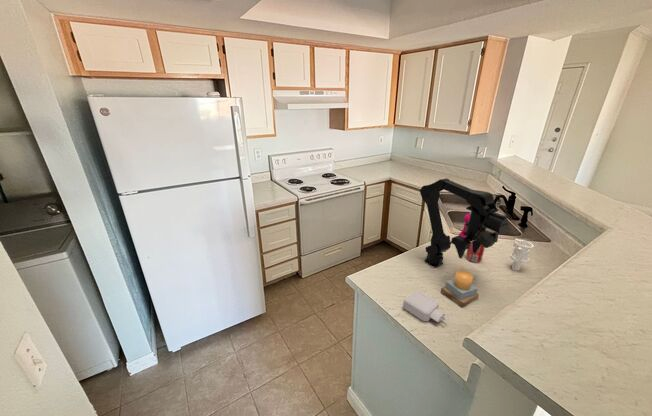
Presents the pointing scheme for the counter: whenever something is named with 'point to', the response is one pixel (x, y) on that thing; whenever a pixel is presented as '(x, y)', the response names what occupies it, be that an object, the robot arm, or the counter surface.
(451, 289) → the block
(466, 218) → the pepper mill
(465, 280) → the orange cylinder
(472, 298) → the tower base
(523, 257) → the white tall piece
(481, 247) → the soda can
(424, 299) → the charger
